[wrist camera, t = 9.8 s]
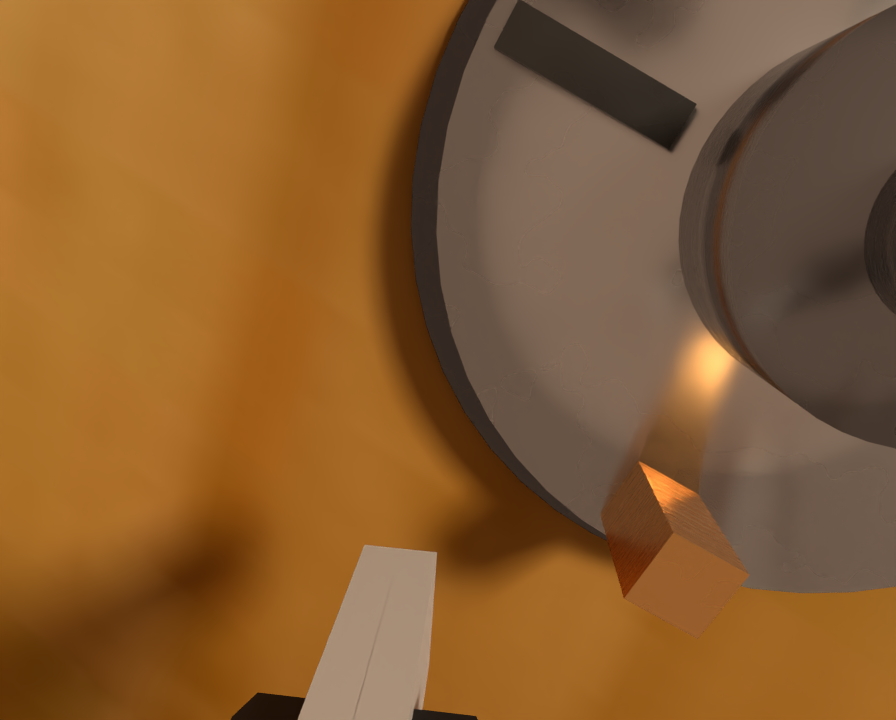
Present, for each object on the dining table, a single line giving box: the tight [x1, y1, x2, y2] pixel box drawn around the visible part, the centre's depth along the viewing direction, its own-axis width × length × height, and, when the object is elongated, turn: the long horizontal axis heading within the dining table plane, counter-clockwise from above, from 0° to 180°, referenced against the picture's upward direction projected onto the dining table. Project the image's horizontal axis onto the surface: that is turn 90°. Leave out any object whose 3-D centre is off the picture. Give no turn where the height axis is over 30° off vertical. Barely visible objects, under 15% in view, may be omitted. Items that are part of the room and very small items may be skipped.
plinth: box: [411, 0, 607, 540], centre depth 18 cm, size 23×23×1 cm
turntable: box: [436, 0, 896, 639], centre depth 15 cm, size 21×21×6 cm
